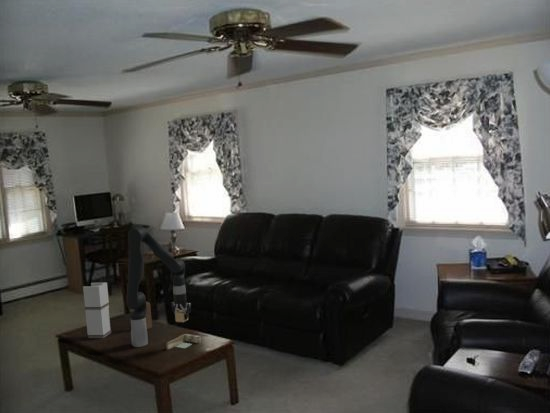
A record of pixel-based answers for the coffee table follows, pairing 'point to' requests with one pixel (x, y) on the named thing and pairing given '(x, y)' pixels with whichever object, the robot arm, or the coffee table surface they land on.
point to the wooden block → (148, 316)
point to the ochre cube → (180, 316)
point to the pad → (183, 345)
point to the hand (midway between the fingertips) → (181, 319)
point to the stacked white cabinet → (97, 310)
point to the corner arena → (183, 338)
